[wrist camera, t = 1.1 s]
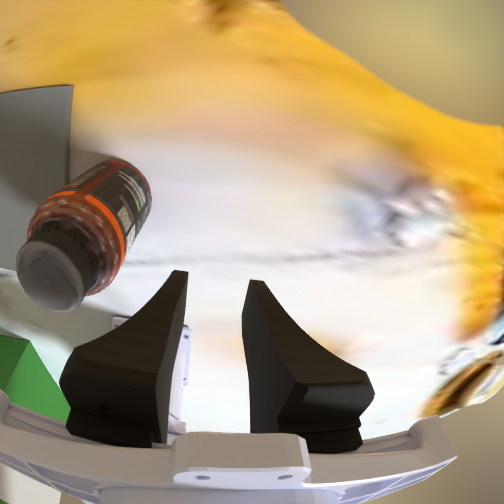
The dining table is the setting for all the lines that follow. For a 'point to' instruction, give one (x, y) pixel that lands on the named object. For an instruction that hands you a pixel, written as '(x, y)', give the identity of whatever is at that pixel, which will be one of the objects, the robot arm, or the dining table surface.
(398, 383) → the dining table surface
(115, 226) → the supplement bottle
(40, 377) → the hardback book
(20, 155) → the mat
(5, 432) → the robot arm
